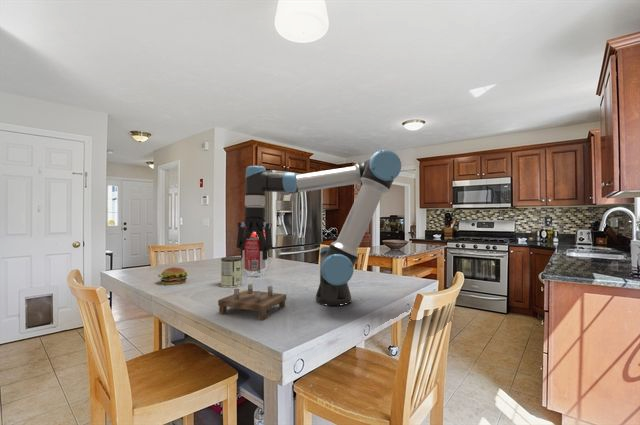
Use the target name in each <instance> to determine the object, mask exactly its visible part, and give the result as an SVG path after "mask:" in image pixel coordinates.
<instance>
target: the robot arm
mask: <svg viewBox="0 0 640 425" xmlns="http://www.w3.org/2000/svg"><path fill="white" fill-rule="evenodd" d="M401 170H402V161H401V158H400V157H399V155H398V154H397V153H396V152H394V151H392V150H390V149H380V150H378V151H375V152H374V153H373V154H372V155H371V156H370V158H369V159H367V160H365V161H362V162H357V163H355V164H354V165H353V166H346V167H340V168H333V169H327V170H325V169H324V170H319V171H312V172H307V173H306V172H305V173H299V174H296V173H295V172H289V171H284V172H282V171H281V172H280V171H276V172H274V171H272V172H271V171H267V170H266V167H265V166H262V165H249V166H246V169H245V177H244V187H245V188H244V190H245V191H244V192H245V194H244V206H245V207H244V218H245V219H244V221H241V222H237V227H238V231H237V239H236V248H237V249H239V250H240V257H241V258H242V268H244V248H245V242H246V240H247V239H249V238H252V237H251V236H252V234H253V233H254V232H256V234H257V238H259V241H260V245H261V248H262V250H261V251H260V269H261V270H263V269H266V260H267V259H268V251H270V250H272V249H273V238H272V226H273V223H272V222H266V221H265V216H266V208H265V206H266V193H267V192H268V193H273V192H274V193H279V195H282V196H290V195H291V194H296V193H298V194H299V193H304V192H310V191H311V192H312V191H317V190H323V189H331V188H336V187H345V186H350V185H357V186H361V187H360V188H359V191H358V193H357V195H356V197H355V200H354V202H353V204H352V206H351V208H350V210H349V212H348V215H347V217H346V219H345V221H344V222H343V223H344V224H343V226H342V228H341V230H340V232H339V234H338V236H337V239H336V240H335V241H333V242H331V243H330V245H329V246H323V247H320V252H319V256H320V259H319V262H320V263H319V265H320V266H319V269H320V270H319V271H320V272H319V285H318V288H317V291H316V294H315V302H316V303H317V304H319V303H320V305H322V304H327V305H340V304H345V303H349V302H350V301H351V302H352V294H351V292H350V287H349V285H348V284H349V283H348V282H350V281H351V278H352V277H353V276H354V275H353V274H354V272H355V271H354V268H355V265H356V263H357V261H358V258H359V253H358V249H359V248H360V245H361V242H362V240H363V239H364V238H363V237H364V236H365V233H366V232H367V229H368V228H369V225H370V224H371V223H370V222H371V220H372V218H373V216H374V214H375V212H376V210H377V209H378V208H377V207H378V206H379V204H380V201H381V198H382V197H383V194H386V193H387V192H389V191H390V189H391V188H392V185H393V182H394V180H395V179H396V178H397V177H398V176H399V175H400V172H402V171H401ZM327 305H326V306H327Z"/></svg>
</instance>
